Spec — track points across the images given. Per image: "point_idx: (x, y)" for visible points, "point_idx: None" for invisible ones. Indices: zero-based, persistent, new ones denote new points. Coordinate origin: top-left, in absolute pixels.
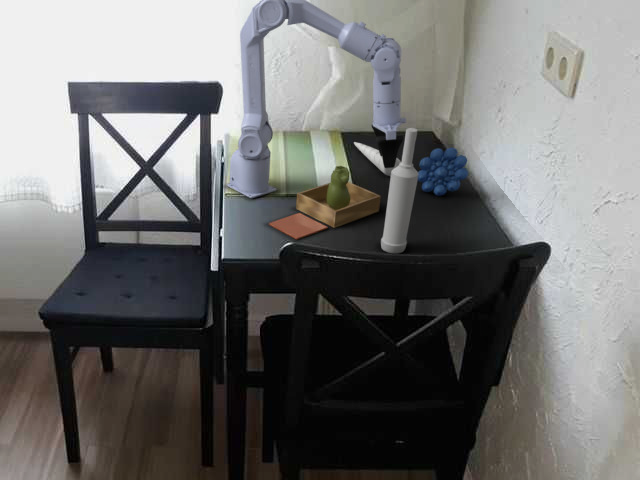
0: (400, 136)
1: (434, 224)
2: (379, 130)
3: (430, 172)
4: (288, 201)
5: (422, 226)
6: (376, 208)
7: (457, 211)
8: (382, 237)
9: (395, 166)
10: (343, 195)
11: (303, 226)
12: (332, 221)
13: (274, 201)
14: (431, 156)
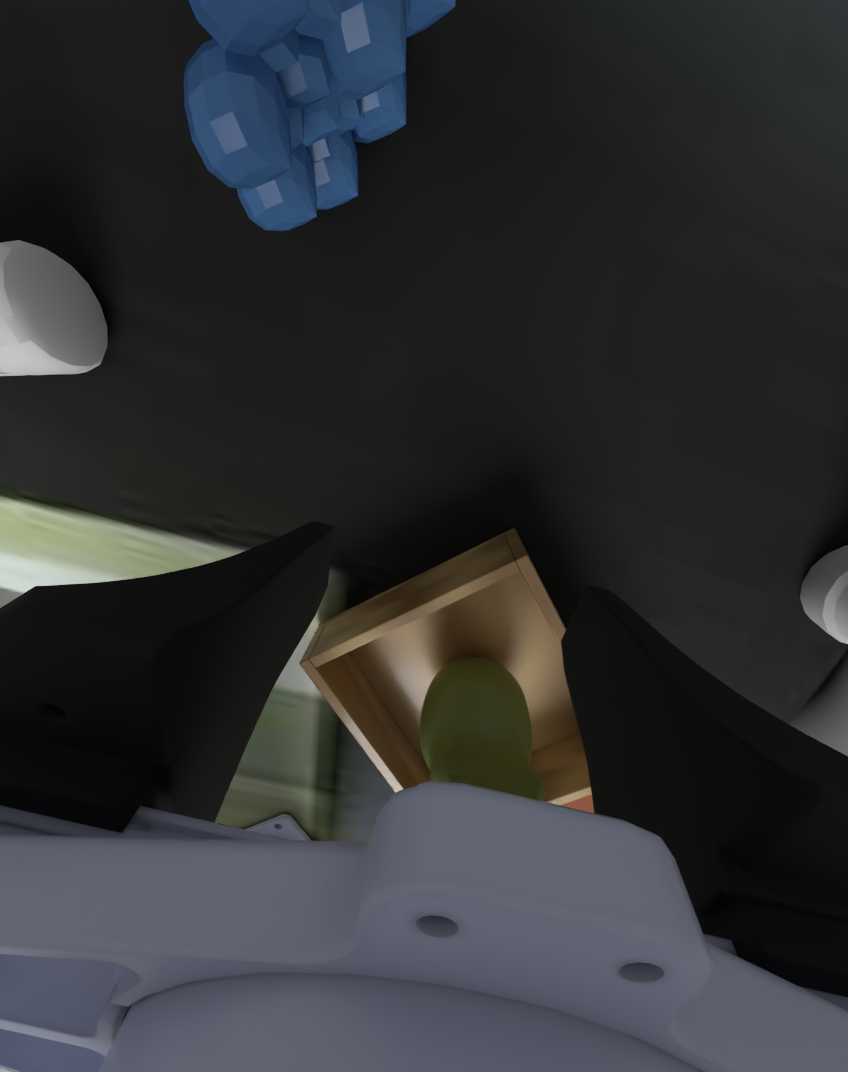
0: (838, 828)
1: (712, 310)
2: (214, 782)
3: (310, 118)
4: (374, 796)
5: (712, 383)
6: (525, 549)
7: (602, 83)
8: (839, 637)
9: (56, 291)
10: (531, 734)
11: (591, 811)
12: None
13: (370, 830)
14: (259, 41)
